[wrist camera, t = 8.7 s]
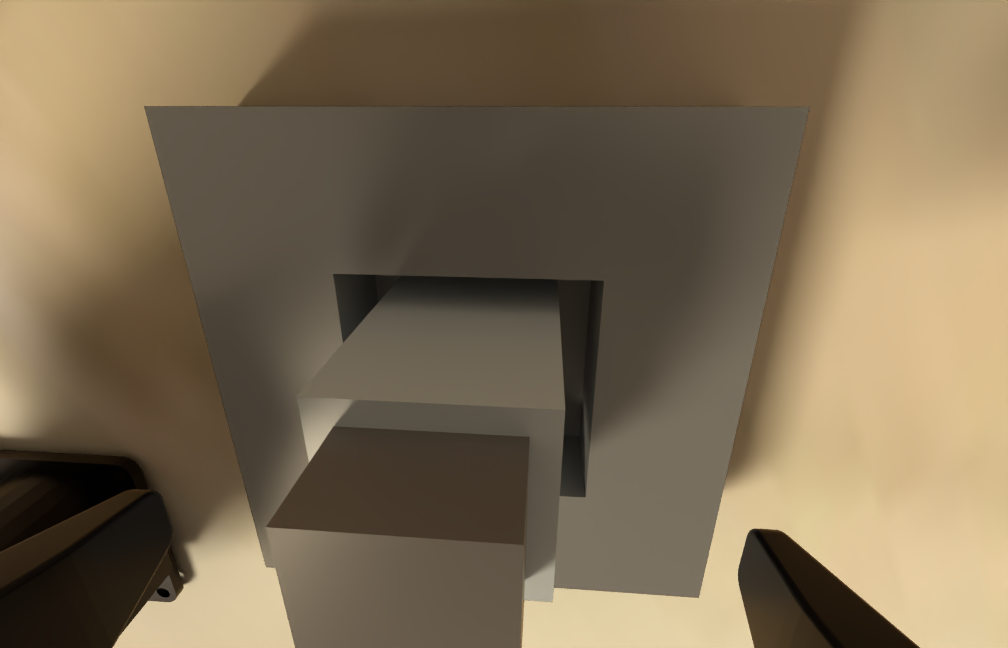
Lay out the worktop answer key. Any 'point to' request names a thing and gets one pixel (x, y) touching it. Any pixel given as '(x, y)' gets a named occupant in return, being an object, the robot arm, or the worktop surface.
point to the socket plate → (501, 254)
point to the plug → (429, 471)
